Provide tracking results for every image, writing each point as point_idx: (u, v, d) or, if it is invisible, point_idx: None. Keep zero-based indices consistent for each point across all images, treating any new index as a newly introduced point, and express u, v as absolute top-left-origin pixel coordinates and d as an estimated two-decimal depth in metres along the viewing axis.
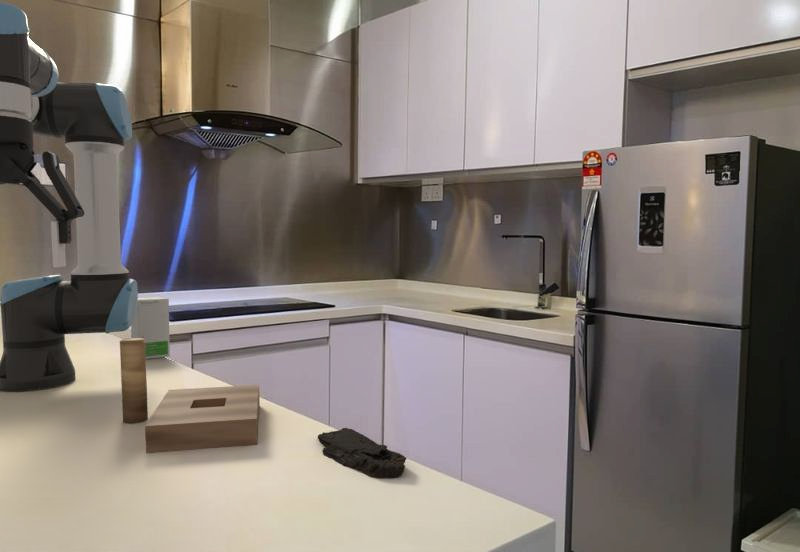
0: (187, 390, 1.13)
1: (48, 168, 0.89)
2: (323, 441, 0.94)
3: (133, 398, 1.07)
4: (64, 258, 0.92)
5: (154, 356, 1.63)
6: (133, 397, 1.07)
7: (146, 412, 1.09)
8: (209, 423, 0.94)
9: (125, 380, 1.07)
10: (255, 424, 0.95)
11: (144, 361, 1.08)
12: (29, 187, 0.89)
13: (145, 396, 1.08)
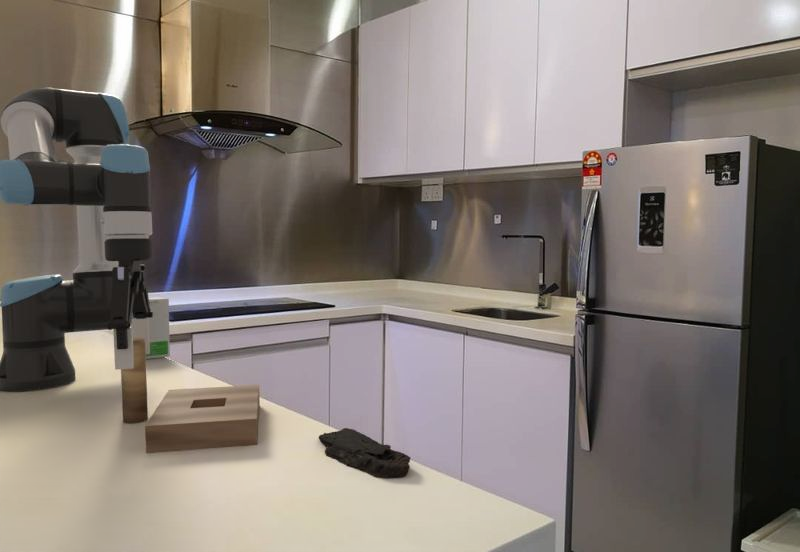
0: (187, 390, 1.13)
1: None
2: (325, 442, 0.94)
3: (133, 398, 1.07)
4: (130, 361, 1.01)
5: (154, 356, 1.63)
6: (133, 397, 1.07)
7: (146, 412, 1.09)
8: (209, 423, 0.94)
9: (125, 380, 1.07)
10: (255, 424, 0.95)
11: (144, 361, 1.08)
12: None
13: (145, 396, 1.08)
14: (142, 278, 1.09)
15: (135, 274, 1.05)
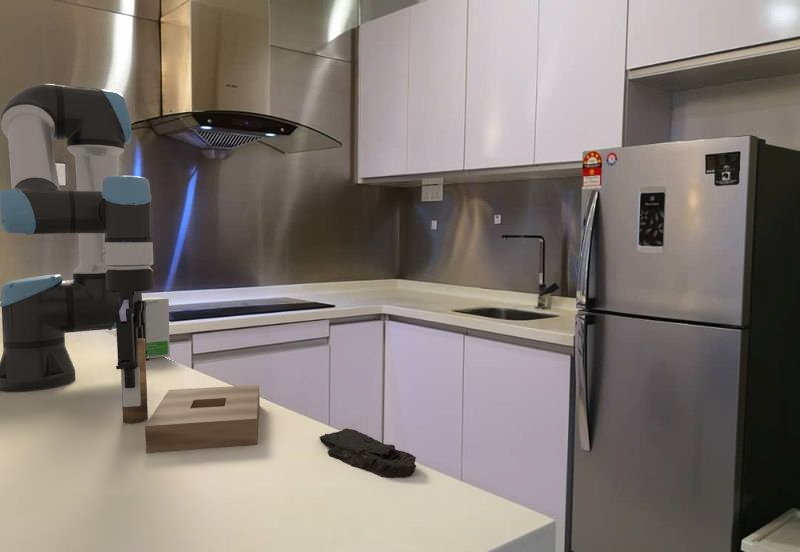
0: (187, 390, 1.13)
1: None
2: (327, 442, 0.94)
3: None
4: (137, 399, 1.06)
5: (154, 356, 1.63)
6: None
7: (146, 412, 1.09)
8: (209, 423, 0.94)
9: None
10: (255, 424, 0.95)
11: (144, 361, 1.08)
12: None
13: (145, 396, 1.08)
14: (143, 307, 1.09)
15: (136, 307, 1.06)
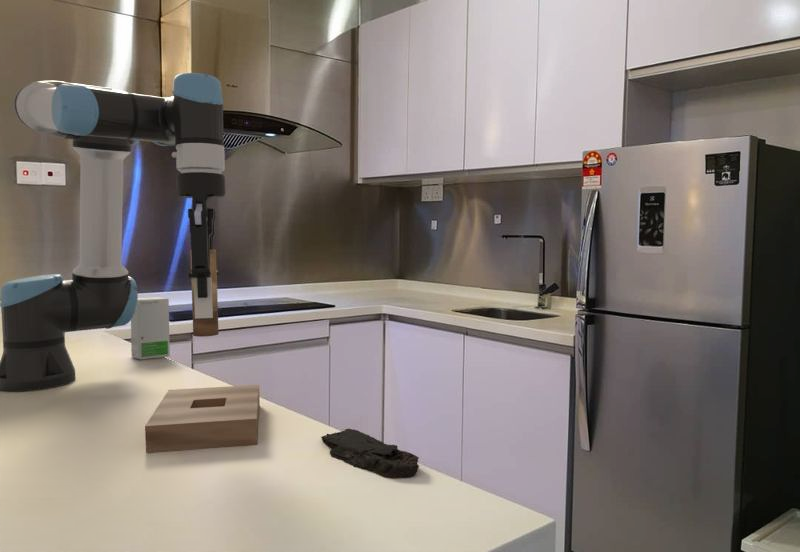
0: (187, 390, 1.13)
1: None
2: (329, 443, 0.94)
3: None
4: (209, 310, 1.01)
5: (154, 356, 1.63)
6: None
7: (217, 326, 1.03)
8: (209, 423, 0.94)
9: None
10: (255, 424, 0.95)
11: (215, 272, 1.03)
12: None
13: (216, 309, 1.03)
14: (213, 215, 1.03)
15: (208, 213, 1.01)
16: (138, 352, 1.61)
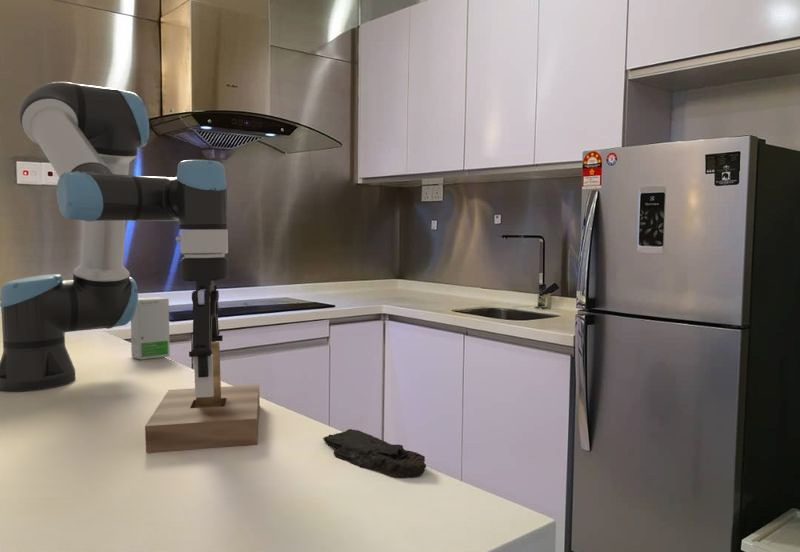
0: (187, 390, 1.13)
1: None
2: (332, 443, 0.93)
3: (208, 404, 1.03)
4: (210, 389, 0.98)
5: (154, 356, 1.63)
6: (208, 403, 1.03)
7: None
8: (209, 423, 0.94)
9: None
10: (255, 424, 0.95)
11: (219, 365, 1.04)
12: None
13: (220, 402, 1.04)
14: (217, 298, 1.05)
15: (212, 295, 1.02)
16: (138, 352, 1.61)
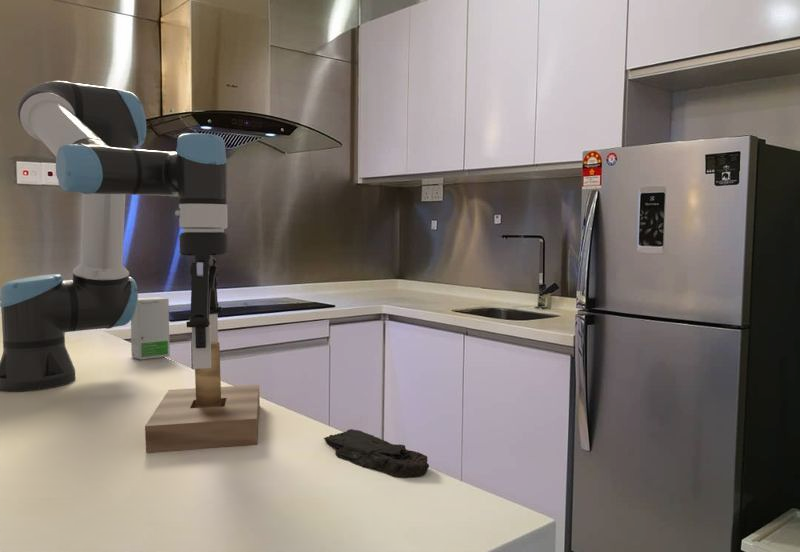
0: (187, 390, 1.13)
1: (192, 278, 0.97)
2: (334, 443, 0.93)
3: (208, 404, 1.03)
4: (207, 360, 0.97)
5: (154, 356, 1.63)
6: (208, 403, 1.03)
7: None
8: (209, 423, 0.94)
9: (200, 385, 1.02)
10: (255, 424, 0.95)
11: (219, 365, 1.04)
12: None
13: (220, 402, 1.04)
14: (216, 273, 1.04)
15: (210, 269, 1.01)
16: (138, 352, 1.61)
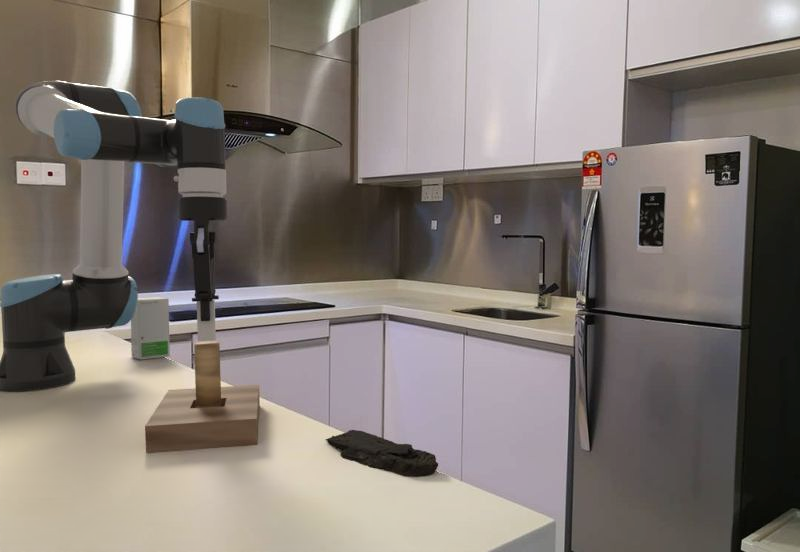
0: (187, 390, 1.13)
1: (193, 252, 0.98)
2: (337, 445, 0.93)
3: (208, 404, 1.03)
4: (212, 333, 1.03)
5: (154, 356, 1.63)
6: (208, 403, 1.03)
7: None
8: (209, 423, 0.94)
9: (200, 385, 1.02)
10: (255, 424, 0.95)
11: (219, 365, 1.04)
12: None
13: (220, 402, 1.04)
14: None
15: (210, 238, 1.01)
16: (138, 352, 1.61)
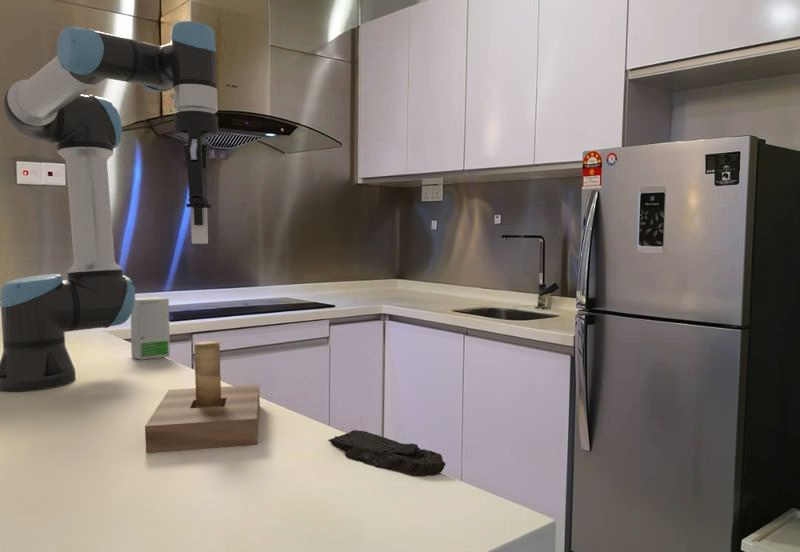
0: (187, 390, 1.13)
1: (187, 160, 1.09)
2: (341, 445, 0.93)
3: (208, 404, 1.03)
4: (204, 237, 1.14)
5: (154, 356, 1.63)
6: (208, 403, 1.03)
7: None
8: (209, 423, 0.94)
9: (200, 385, 1.02)
10: (255, 424, 0.95)
11: (219, 365, 1.04)
12: None
13: (220, 402, 1.04)
14: (207, 151, 1.15)
15: (202, 149, 1.12)
16: (138, 352, 1.61)
